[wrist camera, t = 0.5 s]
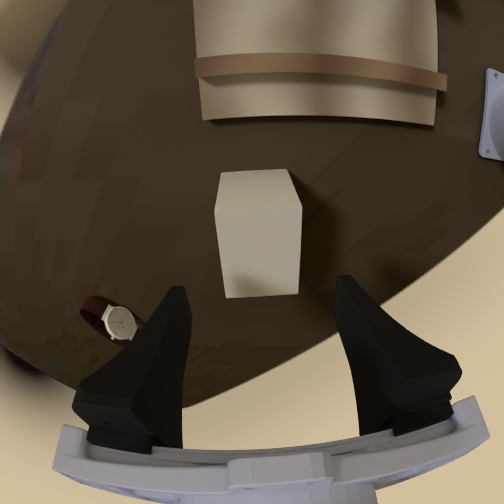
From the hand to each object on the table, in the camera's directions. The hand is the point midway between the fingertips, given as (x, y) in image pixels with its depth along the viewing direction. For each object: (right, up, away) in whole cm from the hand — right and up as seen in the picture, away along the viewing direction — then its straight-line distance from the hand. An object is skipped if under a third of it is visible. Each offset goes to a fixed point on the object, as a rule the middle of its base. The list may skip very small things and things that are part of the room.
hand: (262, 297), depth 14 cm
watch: (-15, -4, +15) cm, 21 cm away
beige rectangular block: (0, +5, +8) cm, 10 cm away
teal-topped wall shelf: (+4, +17, 0) cm, 17 cm away
